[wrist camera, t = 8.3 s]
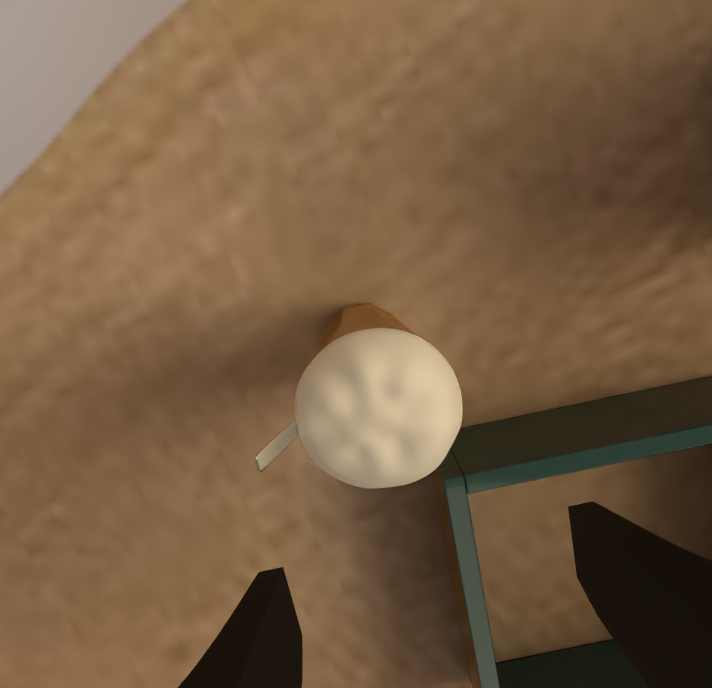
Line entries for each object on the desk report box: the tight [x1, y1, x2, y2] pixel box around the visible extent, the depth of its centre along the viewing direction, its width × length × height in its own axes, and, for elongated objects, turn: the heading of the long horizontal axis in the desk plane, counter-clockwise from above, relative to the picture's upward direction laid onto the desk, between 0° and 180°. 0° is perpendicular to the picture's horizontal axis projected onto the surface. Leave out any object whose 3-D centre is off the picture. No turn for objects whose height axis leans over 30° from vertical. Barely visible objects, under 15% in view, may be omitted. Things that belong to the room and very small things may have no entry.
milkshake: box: [255, 303, 462, 489], centre depth 17 cm, size 5×5×10 cm
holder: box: [432, 377, 712, 688], centre depth 23 cm, size 14×14×4 cm
